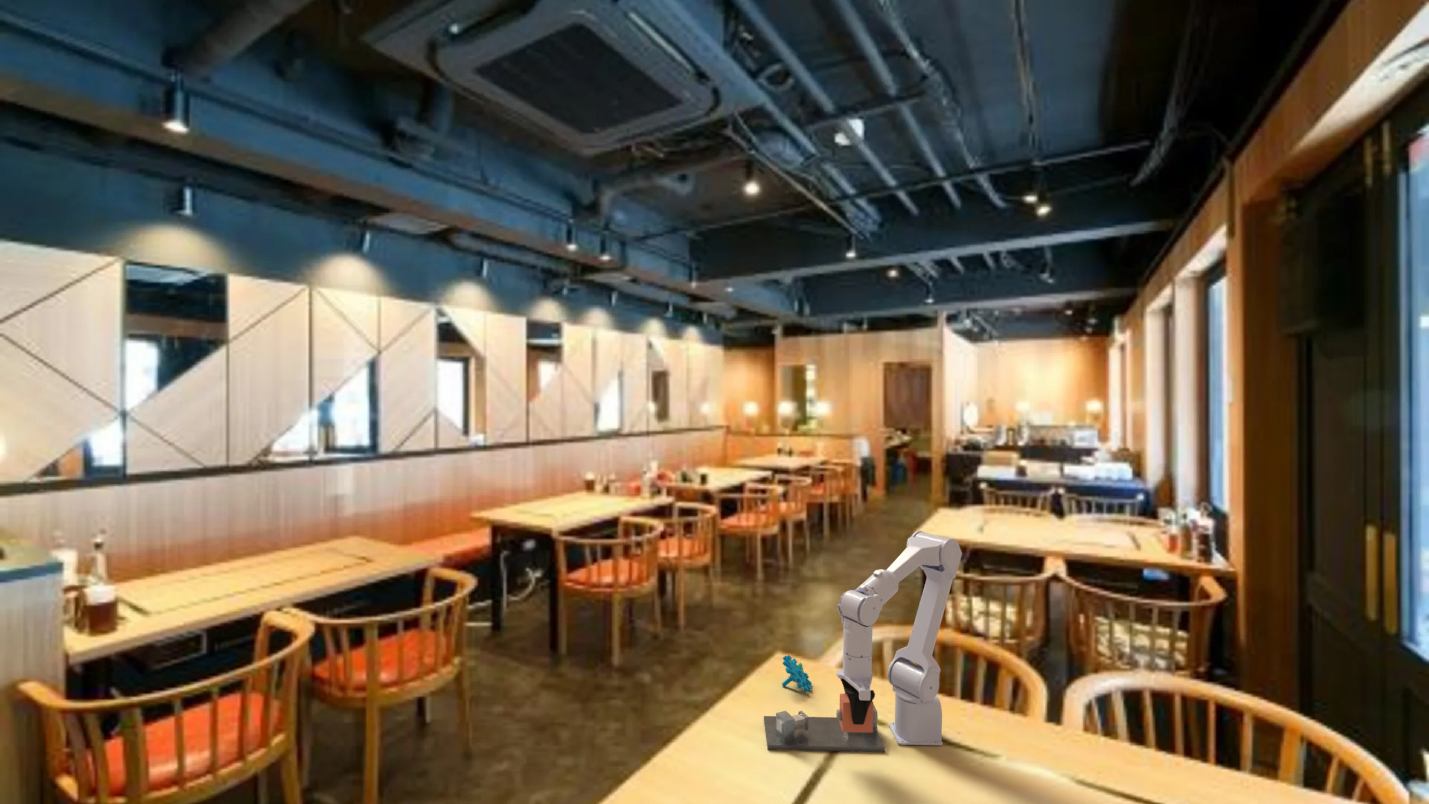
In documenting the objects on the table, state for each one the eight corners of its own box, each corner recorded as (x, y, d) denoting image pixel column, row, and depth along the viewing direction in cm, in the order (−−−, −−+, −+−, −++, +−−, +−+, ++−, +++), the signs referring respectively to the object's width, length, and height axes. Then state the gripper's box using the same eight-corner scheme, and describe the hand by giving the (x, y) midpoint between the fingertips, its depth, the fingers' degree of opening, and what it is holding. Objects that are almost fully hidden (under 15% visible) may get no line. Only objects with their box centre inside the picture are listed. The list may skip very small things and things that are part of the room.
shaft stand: (871, 722, 142) (872, 698, 142) (885, 752, 131) (885, 726, 130) (763, 720, 142) (764, 696, 142) (767, 749, 131) (768, 723, 131)
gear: (809, 694, 151) (782, 659, 154) (792, 709, 152) (765, 674, 155) (817, 680, 162) (792, 648, 165) (800, 694, 163) (775, 661, 166)
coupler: (872, 722, 129) (872, 694, 129) (876, 732, 125) (877, 703, 125) (835, 722, 129) (835, 693, 129) (838, 732, 125) (839, 702, 125)
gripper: (831, 636, 134) (829, 699, 134) (844, 667, 119) (843, 737, 120) (864, 637, 134) (862, 700, 134) (881, 668, 119) (880, 738, 120)
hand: (855, 717), depth 127 cm, fingers closed on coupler, 4 cm apart
